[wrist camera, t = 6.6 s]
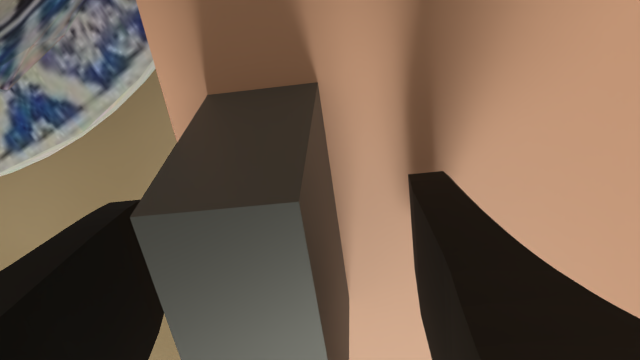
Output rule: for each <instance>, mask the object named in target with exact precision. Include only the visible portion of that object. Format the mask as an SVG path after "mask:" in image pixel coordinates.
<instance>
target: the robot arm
mask: <svg viewBox="0 0 640 360" xmlns="http://www.w3.org/2000/svg"><path fill="white" fill-rule="evenodd" d="M408 183H409V197H410V211H411V226H412V240H413V255H414V268H415V276H416V283H417V291H418V298H419V305H420V313H421V318H422V322H423V326H424V330H425V334H426V338H427V342H428V346H429V350H430V354H431V358H432V360H640V318H638V317H636V316H634V315H632V314H630V313H628V312H626V311H625V310H623V309H621V308H619V307H617V306H615V305H613V304H612V303H610V302H608V301H606V300H605V299H603V298H601V297H599V296H598V295H596V294H594V293H593V292H591V291H589V290H588V289H586V288H585V287H583V286H582V285H580V284H578V283H577V282H575V281H574V280H572V279H570V278H569V277H567V276H566V275H564V274H563V273H561V272H559V271H558V270H556V269H555V268H553V267H552V266H551V265H549V264H548V263H546V262H545V261H543V260H542V259H541V258H539V257H538V256H537V255H535V254H534V253H533V252H531V251H530V250H529V249H527V248H526V247H525V246H523V245H522V244H521V243H520V242H519V241H517V240H516V239H515V238H514V237H513V236H511V235H510V234H509V233H508V232H507V231H505V230H504V229H503V228H502V227H501V226H500V225H499V224H498V223H496V222H495V221H494V220H493V219H492V218H491V217H490V216H489V215H487V214H486V213H485V212H484V211H483V210H482V209H481V208H480V207H479V206H478V205H477V204H476V203H475V202H474V201H473V200H472V199H471V198H470V197H469V196H468V195H467V194H466V193H465V192H464V191H463V190H462V189H461V188H460V187H459V186H458V185H457V184H456V183H455V182H454V181H453V180H452V178H451V177H450V176H449V175H447V174H446V173H445V172H444V171H438V172H427V173H417V174H408ZM139 202H140V200H133V201H123V202H112V203H108V204H106V205H104V206H102V207H100V208H98V209H97V210H95V211H93V212H91V213H90V214H88V215H86V216H85V217H83V218H82V219H80V220H78V221H77V222H75V223H74V224H72V225H71V226H69V227H67V228H66V229H64V230H63V231H61V232H60V233H58V234H57V235H55V236H54V237H52V238H51V239H49V240H48V241H46V242H45V243H43V244H42V245H40V246H39V247H37V248H36V249H34V250H33V251H31V252H30V253H28V254H26V255H25V256H23V257H22V258H20V259H19V260H17V261H16V262H14V263H13V264H11V265H10V266H8V267H6V268H5V269H3V270H2V271H0V360H148V359H149V356H150V354H151V351H152V349H153V346H154V344H155V341H156V339H157V336H158V333H159V330H160V326H161V323H162V319H163V315H164V311H163V308H162V305H161V303H160V300H159V297H158V294H157V292H156V289H155V286H154V283H153V281H152V278H151V275H150V272H149V269H148V267H147V264H146V261H145V258H144V256H143V253H142V250H141V247H140V245H139V242H138V239H137V236H136V233H135V231H134V228H133V225H132V222H131V220H130V216H131V214H132V213H133V211H134V210H135V208H136V207H137V205H138V203H139Z"/></svg>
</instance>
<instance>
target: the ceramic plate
mask: <svg viewBox="0 0 640 360" xmlns="http://www.w3.org/2000/svg"><path fill="white" fill-rule="evenodd" d="M154 70H155V65H154V61H153V58H152V54H151V51H150V47H149V44H148V40H147V37H146V33H145V30H144V27H143V23H142V20H141V16H140V13H139V9H138V6H137V2H136V0H0V176H3V175H6V174H9V173H12V172H15V171H17V170H19V169H22V168H24V167H26V166H28V165H31V164H33V163H35V162H37V161H39V160H42V159H44V158H46V157H48V156H50V155H52V154H54V153H55V152H57V151H59V150H60V149H62V148H64V147H65V146H67V145H69V144H70V143H72V142H74V141H75V140H77V139H79V138H80V137H82V136H83V135H85V134H86V133H87V132H89V131H90V130H91V129H93V128H94V127H95V126H96V125H98V124H99V123H100V122H102V121H103V120H104V119H106V118H107V117H108V116H109V115H111V114H112V113H113V112H115V111H116V110H117V109H118V108H119V107H120V106H121V105H122V104H123V103H124V102H125V101H126V100H127V99H128V98H129V97H130V96H131V95H132V94H133V93H134V92H135V91H136V90H137V89H138V88H139V87H140V86H141V85H142V84H143V83H144V82H145V81H146V80H147V78H148V77H149V76H150V75H151V73H152V72H153V71H154Z"/></svg>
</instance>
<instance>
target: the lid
mask: <svg viewBox="0 0 640 360" xmlns="http://www.w3.org/2000/svg"><path fill="white" fill-rule="evenodd" d="M136 2H137V6H138V9H139V13H140V16H141V20H142V23H143V27H144V30H145V33H146V37H147V40H148V44H149V47H150V51H151V54H152V58H153V61H154V65H155V68H156V71H157V75H158V78H159V82H160V85H161V89H162V92H163V96H164V99H165V103H166V106H167V109H168V113H169V116H170V120H171V123H172V127H173V130H174V134H175V137H176V140H177V144H176V145H175V147H174V148H173V150H172V152H171V153H170V155H169V156H168V158H167V159H166V161H165V163H164V164H163V166H162V167H161V169H160V170H159V172H158V174H157V175H156V177H155V178H154V180H153V181H152V183H151V185H150V186H149V188H148V189H147V191H146V192H145V194H144V196H143V197H142V199H141V200H140V202H139V203H138V205H137V207H136V208H135V210H134V211H133V213H132V214H131V216H130V220H131V222H132V225H133V228H134V231H135V233H136V236H137V239H138V242H139V245H140V247H141V250H142V253H143V256H144V258H145V261H146V264H147V267H148V269H149V272H150V275H151V278H152V281H153V283H154V286H155V289H156V292H157V294H158V297H159V300H160V303H161V305H162V308H163V311H164V314H165V317H166V319H167V322H168V325H169V328H170V330H171V333H172V336H173V339H174V341H175V344H176V347H177V350H178V352H179V355H180V358H181V360H432V358H431V354H430V350H429V346H428V342H427V338H426V334H425V330H424V326H423V322H422V318H421V313H420V305H419V298H418V291H417V283H416V276H415V268H414V255H413V240H412V226H411V211H410V197H409V183H408V174H417V173H427V172H438V171H444V172H445V173H446V174H447V175H449V176H450V177H451V178H452V180H453V181H454V182H455V183H456V184H457V185H458V186H459V187H460V188H461V189H462V190H463V191H464V192H465V193H466V194H467V195H468V196H469V197H470V198H471V199H472V200H473V201H474V202H475V203H476V204H477V205H478V206H479V207H480V208H481V209H482V210H483V211H484V212H485V213H486V214H487V215H489V216H490V217H491V218H492V219H493V220H494V221H495V222H496V223H498V224H499V225H500V226H501V227H502V228H503V229H504V230H505V231H507V232H508V233H509V234H510V235H511V236H513V237H514V238H515V239H516V240H517V241H519V242H520V243H521V244H522V245H523V246H525V247H526V248H527V249H529V250H530V251H531V252H533V253H534V254H535V255H537V256H538V257H539V258H541V259H542V260H543V261H545V262H546V263H548V264H549V265H551V266H552V267H553V268H555V269H556V270H558V271H559V272H561V273H563V274H564V275H566V276H567V277H569V278H570V279H572V280H574V281H575V282H577V283H578V284H580V285H582V286H583V287H585V288H586V289H588V290H589V291H591V292H593V293H594V294H596V295H598V296H599V297H601V298H603V299H605V300H606V301H608V302H610V303H612V304H613V305H615V306H617V307H619V308H621V309H623V310H625V311H626V312H628V313H630V314H632V315H634V316H636V317H638V318H640V0H136Z"/></svg>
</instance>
